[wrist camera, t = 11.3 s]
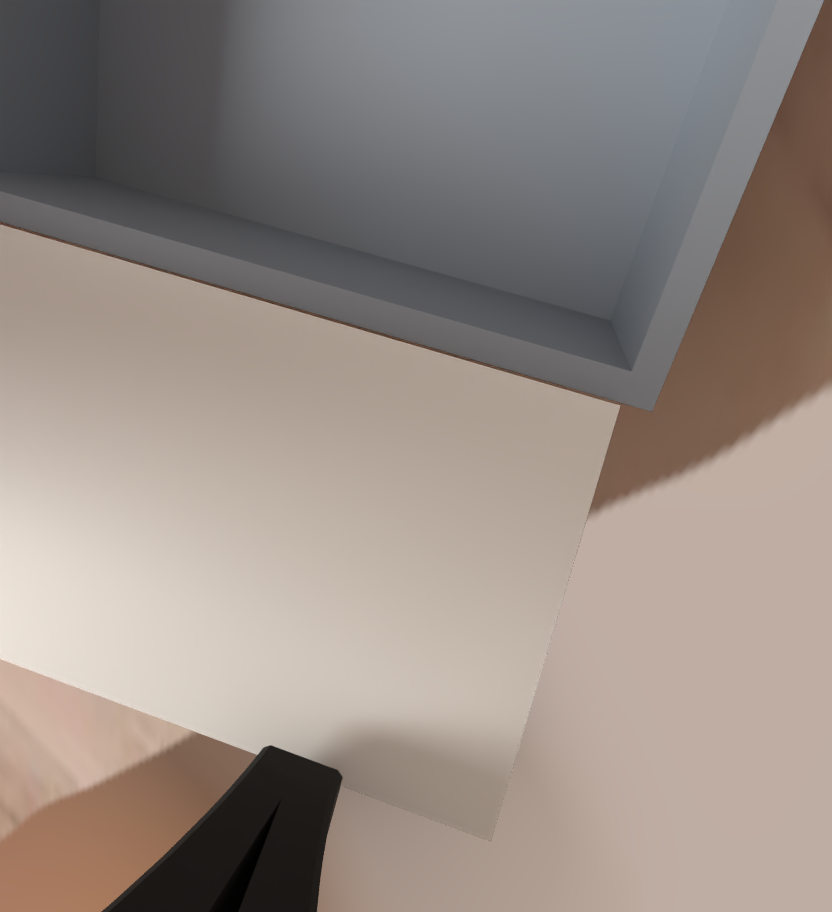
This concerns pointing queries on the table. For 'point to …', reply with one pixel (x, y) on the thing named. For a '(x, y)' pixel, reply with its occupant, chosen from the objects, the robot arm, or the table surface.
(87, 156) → the carton
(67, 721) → the table surface
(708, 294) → the table surface
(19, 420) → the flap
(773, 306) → the table surface
